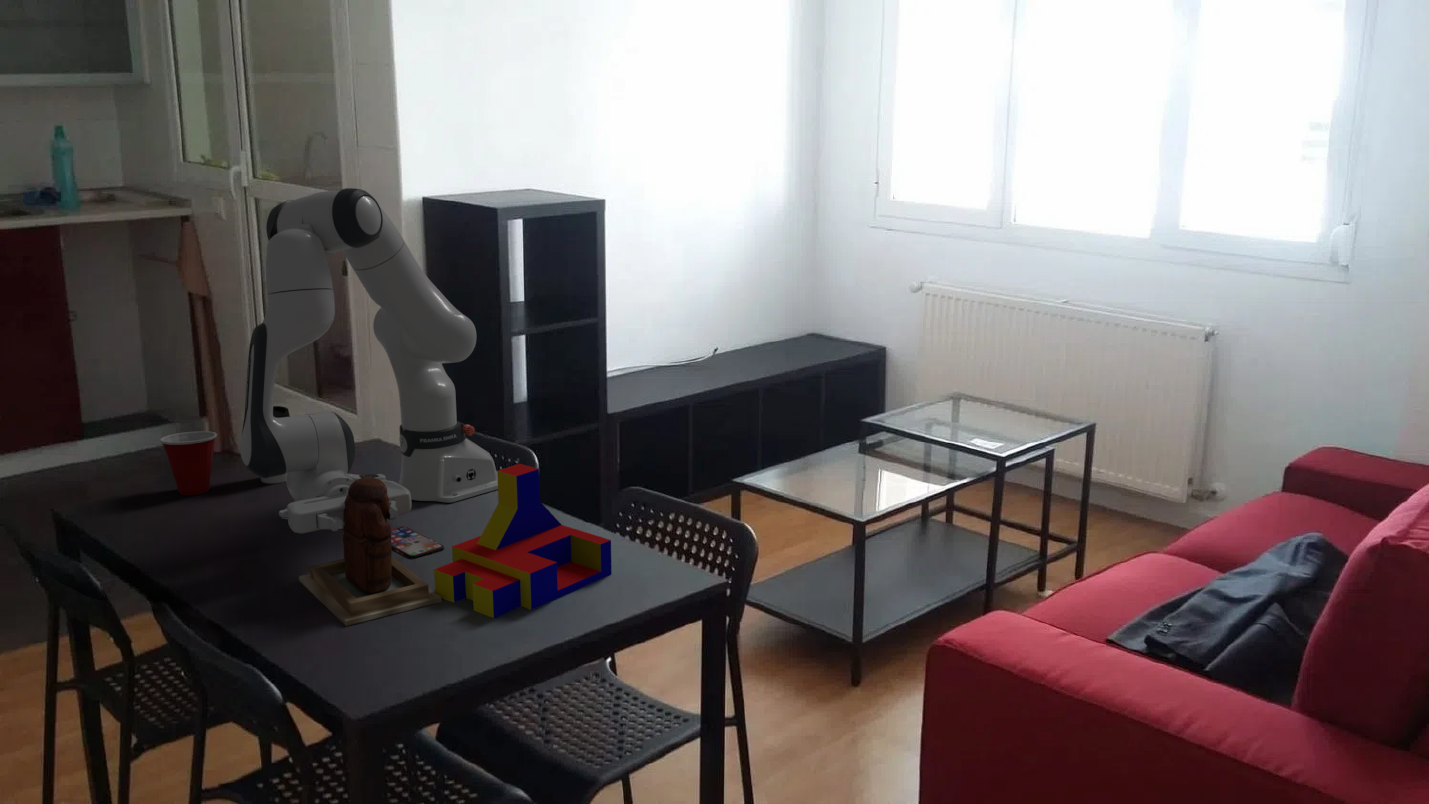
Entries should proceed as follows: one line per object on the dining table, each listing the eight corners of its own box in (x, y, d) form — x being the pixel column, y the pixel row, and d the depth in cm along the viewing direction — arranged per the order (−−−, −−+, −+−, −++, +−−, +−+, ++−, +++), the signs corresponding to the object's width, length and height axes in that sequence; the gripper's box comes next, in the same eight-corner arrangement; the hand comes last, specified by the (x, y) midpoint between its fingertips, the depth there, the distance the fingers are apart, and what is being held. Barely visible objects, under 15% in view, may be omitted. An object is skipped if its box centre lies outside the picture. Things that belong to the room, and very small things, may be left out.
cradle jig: (389, 560, 221) (388, 545, 221) (441, 601, 204) (440, 585, 203) (299, 580, 212) (297, 565, 211) (346, 626, 195) (344, 609, 194)
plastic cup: (221, 479, 264) (215, 425, 261) (223, 495, 254) (218, 438, 251) (165, 486, 260) (158, 430, 256) (165, 502, 250) (159, 444, 247)
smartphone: (410, 557, 221) (368, 534, 232) (411, 562, 222) (369, 539, 232) (446, 546, 226) (404, 524, 237) (447, 551, 227) (404, 529, 237)
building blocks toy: (426, 593, 208) (420, 489, 203) (534, 550, 227) (531, 454, 223) (503, 623, 197) (499, 514, 192) (611, 575, 216) (610, 475, 211)
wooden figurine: (401, 589, 206) (403, 483, 202) (364, 596, 202) (365, 488, 198) (371, 569, 215) (372, 467, 211) (335, 575, 211) (336, 471, 207)
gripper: (273, 493, 208) (301, 514, 197) (391, 472, 220) (423, 490, 209) (277, 529, 209) (304, 552, 198) (393, 506, 221) (425, 526, 210)
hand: (366, 520), depth 204 cm, fingers open, 8 cm apart
